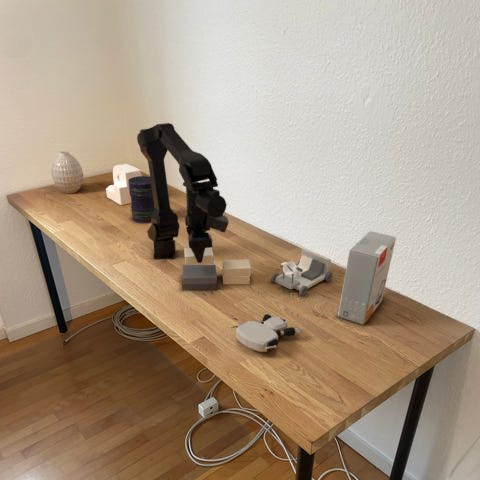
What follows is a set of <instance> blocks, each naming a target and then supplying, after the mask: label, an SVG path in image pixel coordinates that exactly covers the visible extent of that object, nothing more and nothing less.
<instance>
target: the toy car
mask: <svg viewBox="0 0 480 480" xmlns="http://www.w3.org/2000/svg"><path fill="white" fill-rule="evenodd" d="M331 260H332V259H331V258H328V257H325V256H324V255H320V254H318V253H317V252H316V253H315V252H313V251H310V250H309V249H306V248H303V249H301V257H300V259H299V260H298V262H297V263H295V262H294V261H284V262H281V263H280V265H279V267H280V268H282V273H281V274H279V273H278V272H274V273H273V274H272V275H271V277H270V281H271V283H273V284H275V283H276V284H278V285H281V286H283V287H285V288H287V289H289V290H293V289H295V290H297V291H298V295H300V296H302V297H304V296H305V295H306V294H307V292H308V290H309V289H310V288H311V287H313V286H315V285H317V284H319V283H321V282H322V281H325V282H330V281H331V280H332V278H333V271H332V272H331V271H330V266H331Z"/></svg>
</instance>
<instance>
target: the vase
mask: <svg viewBox="0 0 480 480" xmlns="http://www.w3.org/2000/svg"><path fill="white" fill-rule="evenodd" d="M50 173H51V178H52V180H53V183H54V185H55V186H56V187H57V188H58V189H59V190H60V191H61V192H62V193H64V194H75V193H78V192H79V190H80V189H81V187H82V185H83V183H84V171H83V168H82V165H81V163H80V162H79V160H78V159H76V157H75V156H74V155H72V154H70V152H69V151H68V150H61V151H59V152H58V154H57V155H56V157H55V158H53V161H52V165H51V171H50Z"/></svg>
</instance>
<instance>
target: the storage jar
mask: <svg viewBox="0 0 480 480" xmlns="http://www.w3.org/2000/svg"><path fill="white" fill-rule="evenodd" d="M128 182H129V192H130V193H129V194H130V196H131V203H130V212H131V217H132V218H131V219H132V221H133V222H134V223H138V224H151V216H152V214H153V211H154V209H155V207H154V200H153V193H152V186H151V179H150V176H147V175H141V176H138V177H133V178H130V179H129V180H128Z"/></svg>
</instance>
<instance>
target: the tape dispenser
mask: <svg viewBox="0 0 480 480" xmlns="http://www.w3.org/2000/svg"><path fill="white" fill-rule="evenodd" d="M138 176H142V170H141V169H139V168H137V167H135V166H133V165H131V164H128V163H123V164H118V165H114V166H113V168H112V180H113V184H110V185H108V186H107V187H106V188H105V193H106V198H108V199H109V200H111V201H113V202H115V203H116V204H118V205H120V206H125V205H128V204H131V196H130V194H129V193H130V192H129V182H128V180H129V179H130V178H133V177H138Z"/></svg>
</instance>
